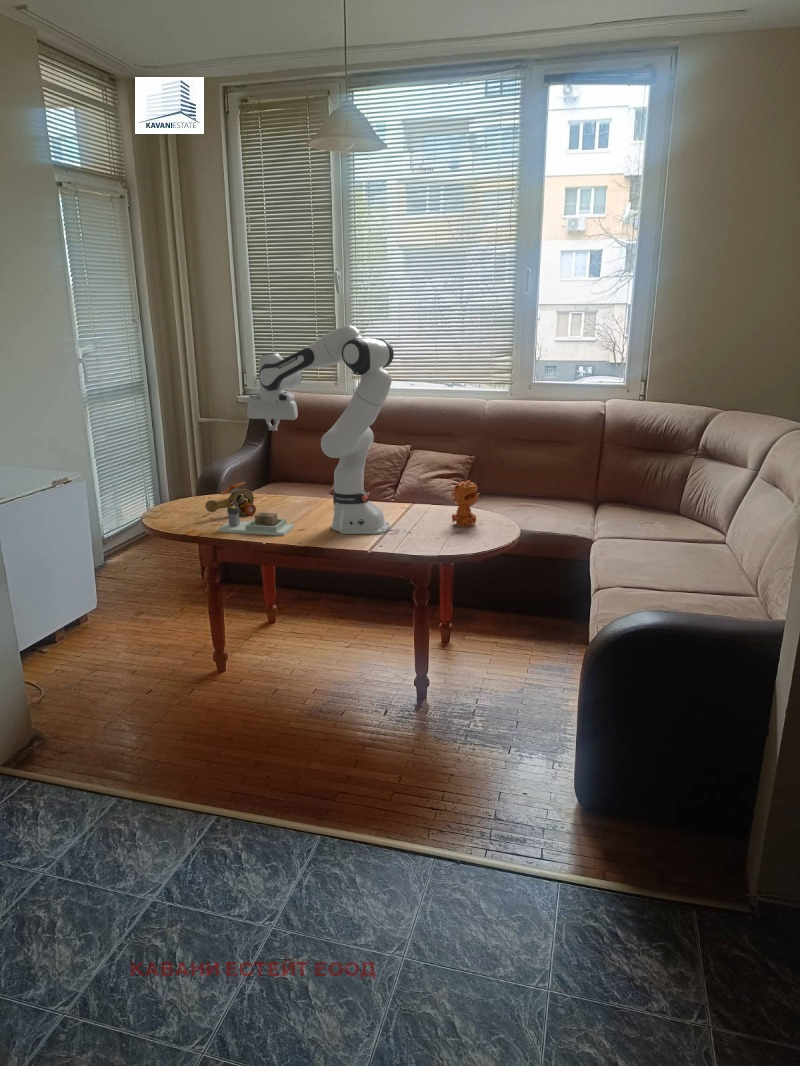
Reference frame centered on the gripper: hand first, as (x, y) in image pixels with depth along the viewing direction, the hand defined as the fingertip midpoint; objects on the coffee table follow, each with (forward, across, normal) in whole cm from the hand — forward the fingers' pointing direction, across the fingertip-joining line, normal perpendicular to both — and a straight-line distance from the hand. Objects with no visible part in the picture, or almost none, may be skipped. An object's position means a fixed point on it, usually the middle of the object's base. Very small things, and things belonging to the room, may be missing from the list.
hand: (273, 430), depth 286 cm
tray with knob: (+34, +1, -25) cm, 42 cm away
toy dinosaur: (+34, +78, -3) cm, 85 cm away
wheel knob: (+31, -8, -25) cm, 41 cm away
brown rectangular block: (+33, +5, -25) cm, 42 cm away
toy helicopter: (+34, -16, -9) cm, 39 cm away
